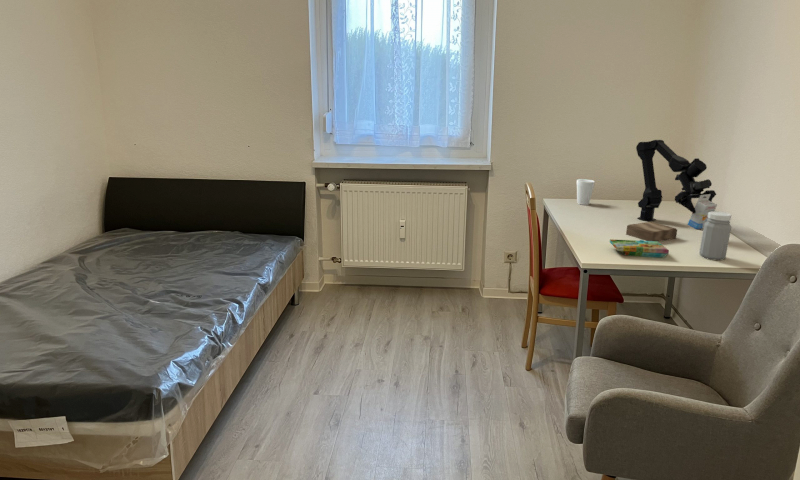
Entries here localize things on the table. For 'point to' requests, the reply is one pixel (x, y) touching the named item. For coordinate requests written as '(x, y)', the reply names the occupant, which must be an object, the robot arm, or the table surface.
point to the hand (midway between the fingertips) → (703, 212)
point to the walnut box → (651, 231)
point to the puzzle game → (640, 248)
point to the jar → (715, 235)
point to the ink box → (701, 212)
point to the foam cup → (584, 191)
